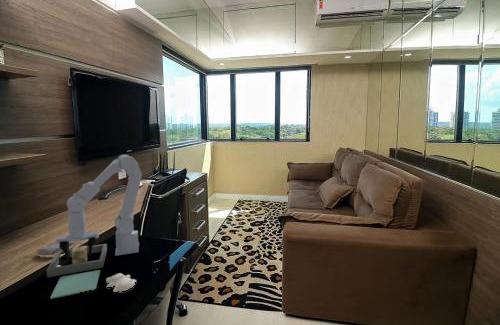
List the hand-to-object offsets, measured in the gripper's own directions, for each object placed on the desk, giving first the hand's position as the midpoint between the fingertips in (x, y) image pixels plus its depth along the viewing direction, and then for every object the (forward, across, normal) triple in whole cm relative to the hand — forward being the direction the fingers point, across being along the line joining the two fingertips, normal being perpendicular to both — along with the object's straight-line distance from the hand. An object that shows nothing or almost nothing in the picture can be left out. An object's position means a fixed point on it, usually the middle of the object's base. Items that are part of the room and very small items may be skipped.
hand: (79, 256), depth 108 cm
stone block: (+3, -12, +15) cm, 20 cm away
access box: (+2, 0, 0) cm, 3 cm away
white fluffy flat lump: (+3, +16, -23) cm, 28 cm away
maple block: (+3, 0, 0) cm, 3 cm away
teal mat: (+2, +2, -17) cm, 17 cm away
